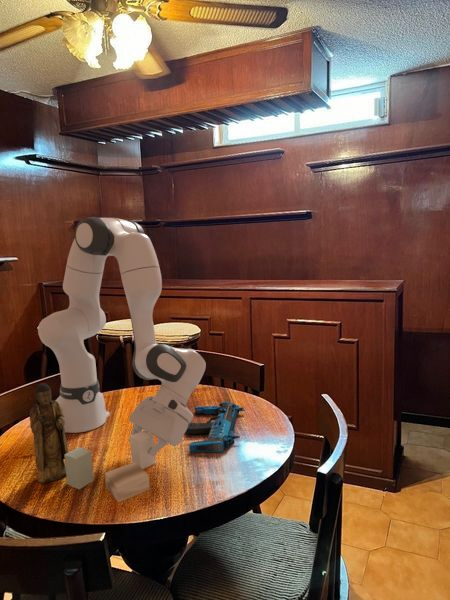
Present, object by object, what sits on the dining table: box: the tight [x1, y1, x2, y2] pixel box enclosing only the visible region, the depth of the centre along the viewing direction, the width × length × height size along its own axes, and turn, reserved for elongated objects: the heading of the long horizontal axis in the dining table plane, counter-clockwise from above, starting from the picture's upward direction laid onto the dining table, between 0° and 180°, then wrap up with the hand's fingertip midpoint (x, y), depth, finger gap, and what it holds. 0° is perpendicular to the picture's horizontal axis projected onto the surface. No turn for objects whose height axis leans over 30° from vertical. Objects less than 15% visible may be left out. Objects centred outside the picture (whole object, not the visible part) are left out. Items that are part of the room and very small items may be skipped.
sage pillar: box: [64, 446, 95, 490], centre depth 108 cm, size 4×4×8 cm
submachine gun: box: [185, 398, 246, 453], centre depth 138 cm, size 34×4×25 cm
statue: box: [29, 382, 69, 485], centre depth 109 cm, size 9×9×25 cm
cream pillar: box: [129, 430, 156, 470], centre depth 116 cm, size 4×4×8 cm
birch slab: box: [104, 462, 151, 503], centre depth 105 cm, size 8×8×4 cm
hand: (140, 448), depth 115 cm, fingers open, 8 cm apart
